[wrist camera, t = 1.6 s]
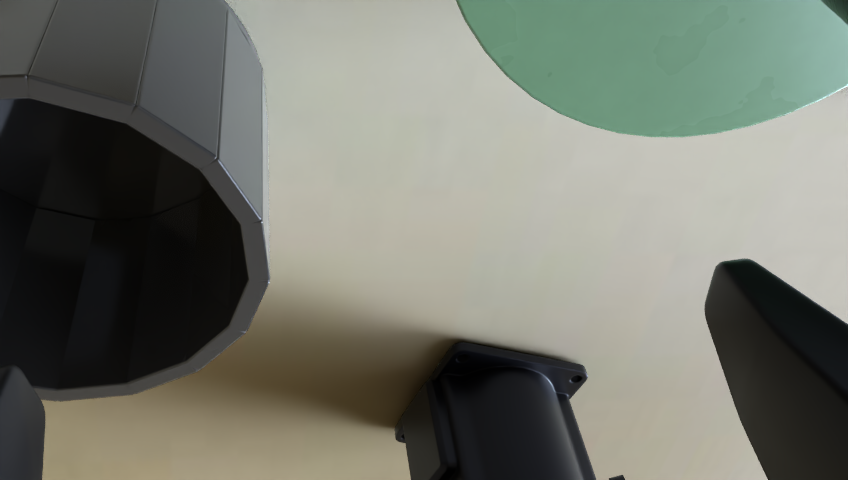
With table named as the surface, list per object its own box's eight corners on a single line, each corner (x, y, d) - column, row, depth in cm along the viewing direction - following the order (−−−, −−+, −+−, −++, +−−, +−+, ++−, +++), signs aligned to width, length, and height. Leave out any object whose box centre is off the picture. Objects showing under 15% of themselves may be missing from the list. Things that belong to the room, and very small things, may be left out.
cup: (311, 0, 21) (327, 157, 16) (216, 246, 27) (206, 421, 22) (-91, -141, 18) (-232, 5, 13) (-107, 177, 23) (-210, 367, 18)
